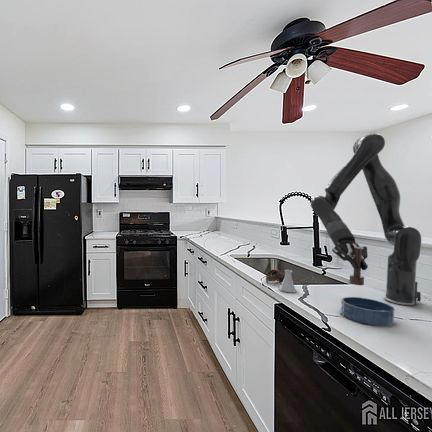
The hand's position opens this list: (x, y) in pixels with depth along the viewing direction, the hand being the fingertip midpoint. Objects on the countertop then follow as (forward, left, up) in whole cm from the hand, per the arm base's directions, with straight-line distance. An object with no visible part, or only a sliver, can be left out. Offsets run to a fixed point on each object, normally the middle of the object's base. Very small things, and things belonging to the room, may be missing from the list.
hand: (361, 268), depth 106 cm
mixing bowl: (0, +3, -18) cm, 18 cm away
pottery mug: (+10, -44, -18) cm, 49 cm away
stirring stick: (0, -2, -6) cm, 7 cm away
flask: (+11, -30, -18) cm, 37 cm away
